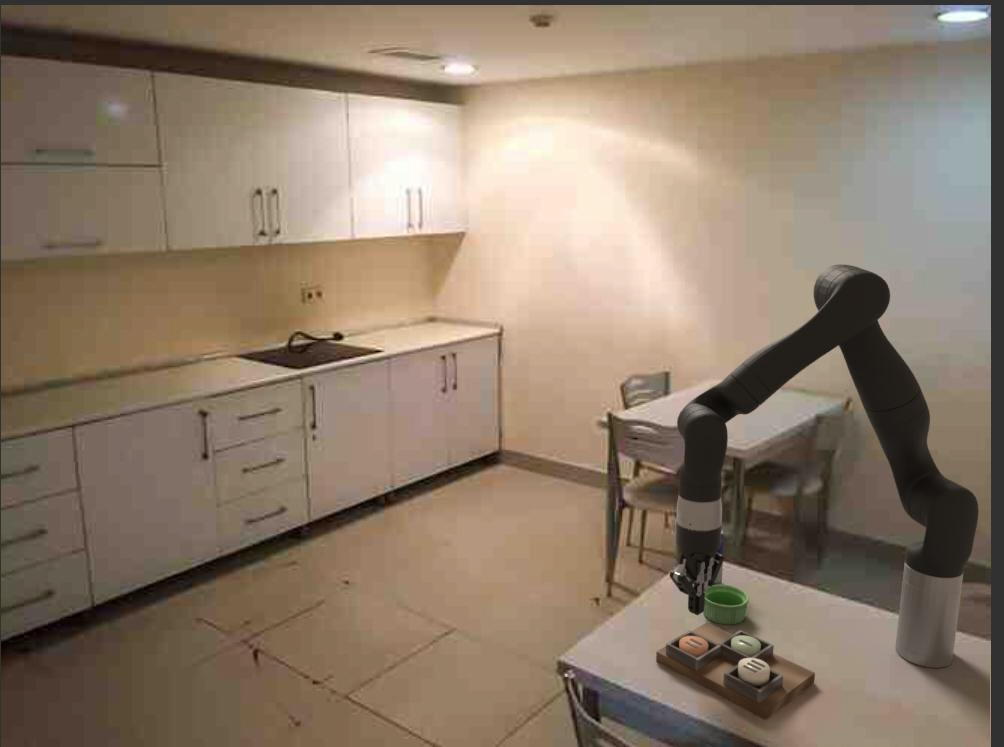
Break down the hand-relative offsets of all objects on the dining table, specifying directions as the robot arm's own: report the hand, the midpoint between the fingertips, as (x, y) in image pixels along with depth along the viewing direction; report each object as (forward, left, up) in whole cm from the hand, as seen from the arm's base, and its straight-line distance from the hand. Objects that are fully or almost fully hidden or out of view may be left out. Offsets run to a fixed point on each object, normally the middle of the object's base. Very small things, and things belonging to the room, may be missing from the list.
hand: (696, 612), depth 142 cm
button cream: (0, +12, -7) cm, 14 cm away
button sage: (-7, +6, -8) cm, 12 cm away
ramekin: (-19, -7, -11) cm, 23 cm away
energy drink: (-28, -17, -11) cm, 34 cm away
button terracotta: (0, 0, -8) cm, 8 cm away
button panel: (-3, +6, -10) cm, 12 cm away
